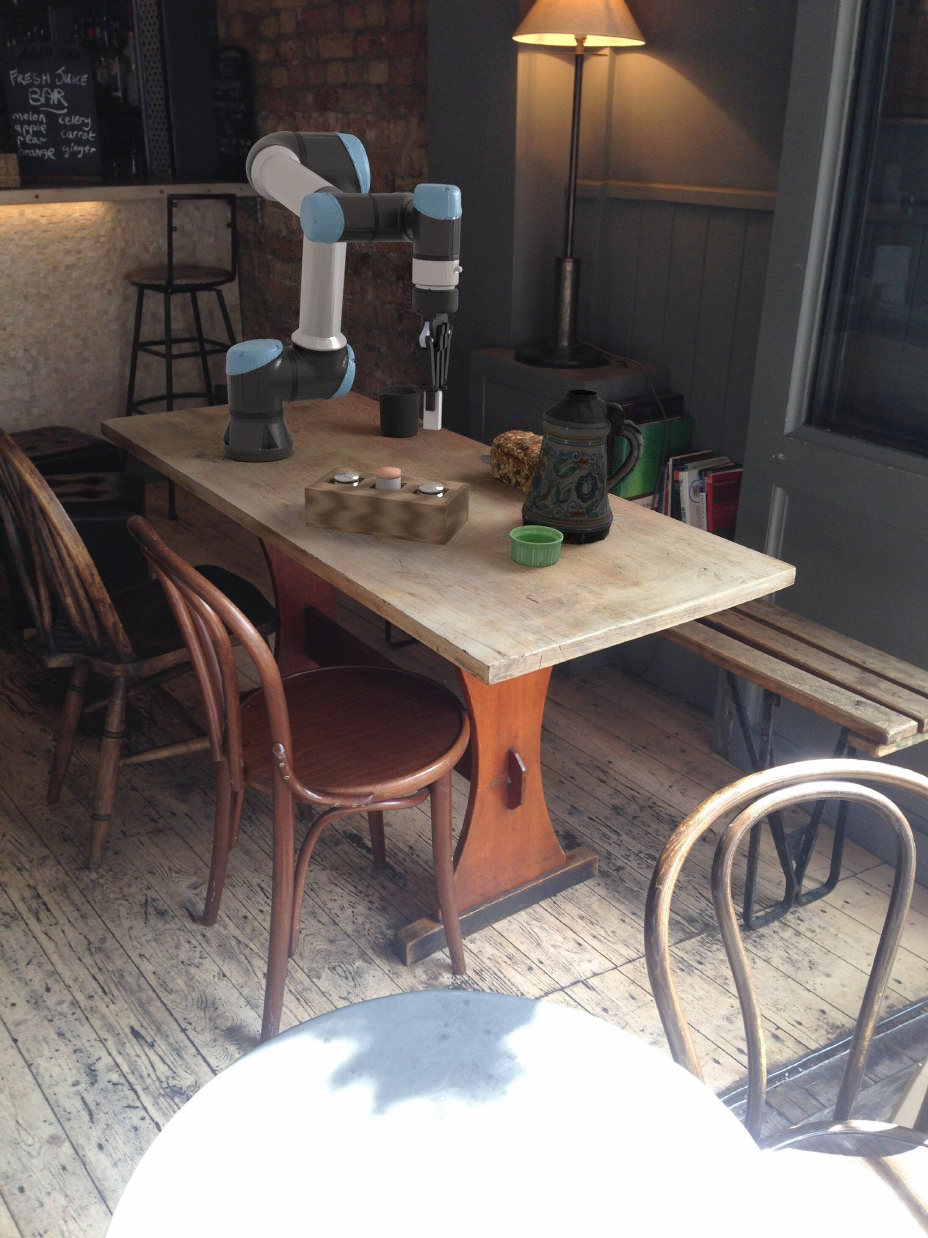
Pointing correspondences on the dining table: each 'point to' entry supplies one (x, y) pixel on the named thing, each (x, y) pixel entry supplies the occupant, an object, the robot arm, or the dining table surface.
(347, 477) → the plug
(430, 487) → the plug
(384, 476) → the plug terracotta
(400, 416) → the pen holder
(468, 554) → the dining table surface
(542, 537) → the ramekin
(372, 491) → the block
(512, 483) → the bread
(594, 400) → the beer stein
